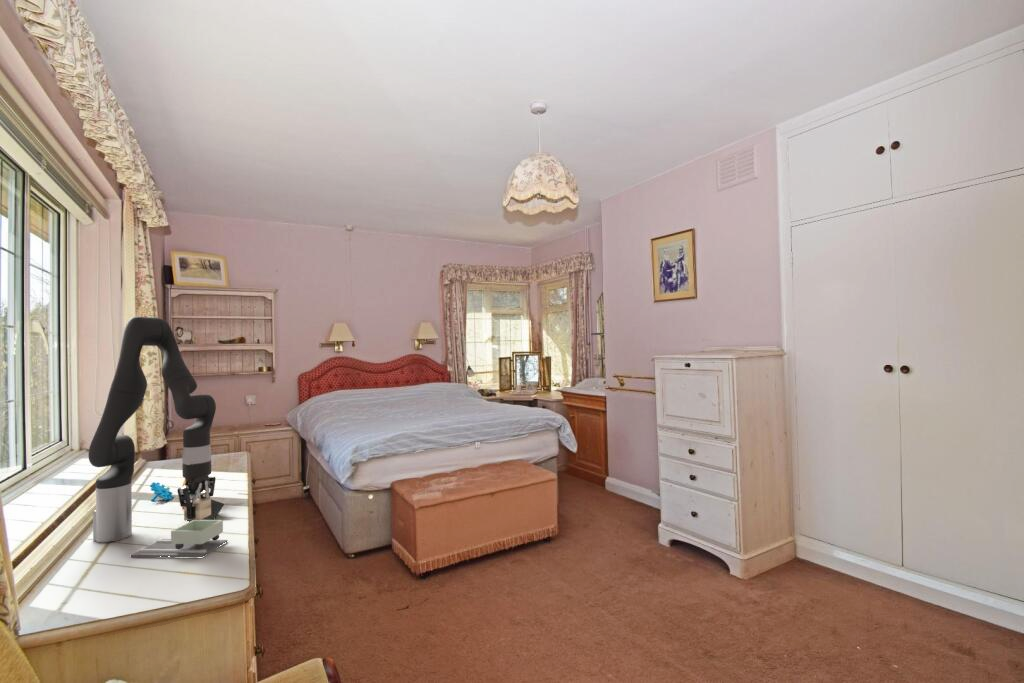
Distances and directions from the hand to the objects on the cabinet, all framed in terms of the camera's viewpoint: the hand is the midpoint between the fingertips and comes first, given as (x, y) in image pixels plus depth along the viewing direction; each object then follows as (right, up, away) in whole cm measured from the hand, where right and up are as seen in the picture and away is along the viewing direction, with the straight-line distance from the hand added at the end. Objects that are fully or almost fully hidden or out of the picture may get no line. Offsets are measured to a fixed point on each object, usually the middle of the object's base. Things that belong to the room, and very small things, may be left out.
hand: (197, 515), depth 153 cm
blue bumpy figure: (-48, -12, +52) cm, 72 cm away
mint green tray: (0, -9, 0) cm, 9 cm away
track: (-5, -11, 0) cm, 12 cm away
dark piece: (-15, -12, +28) cm, 34 cm away
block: (0, -1, 0) cm, 1 cm away
